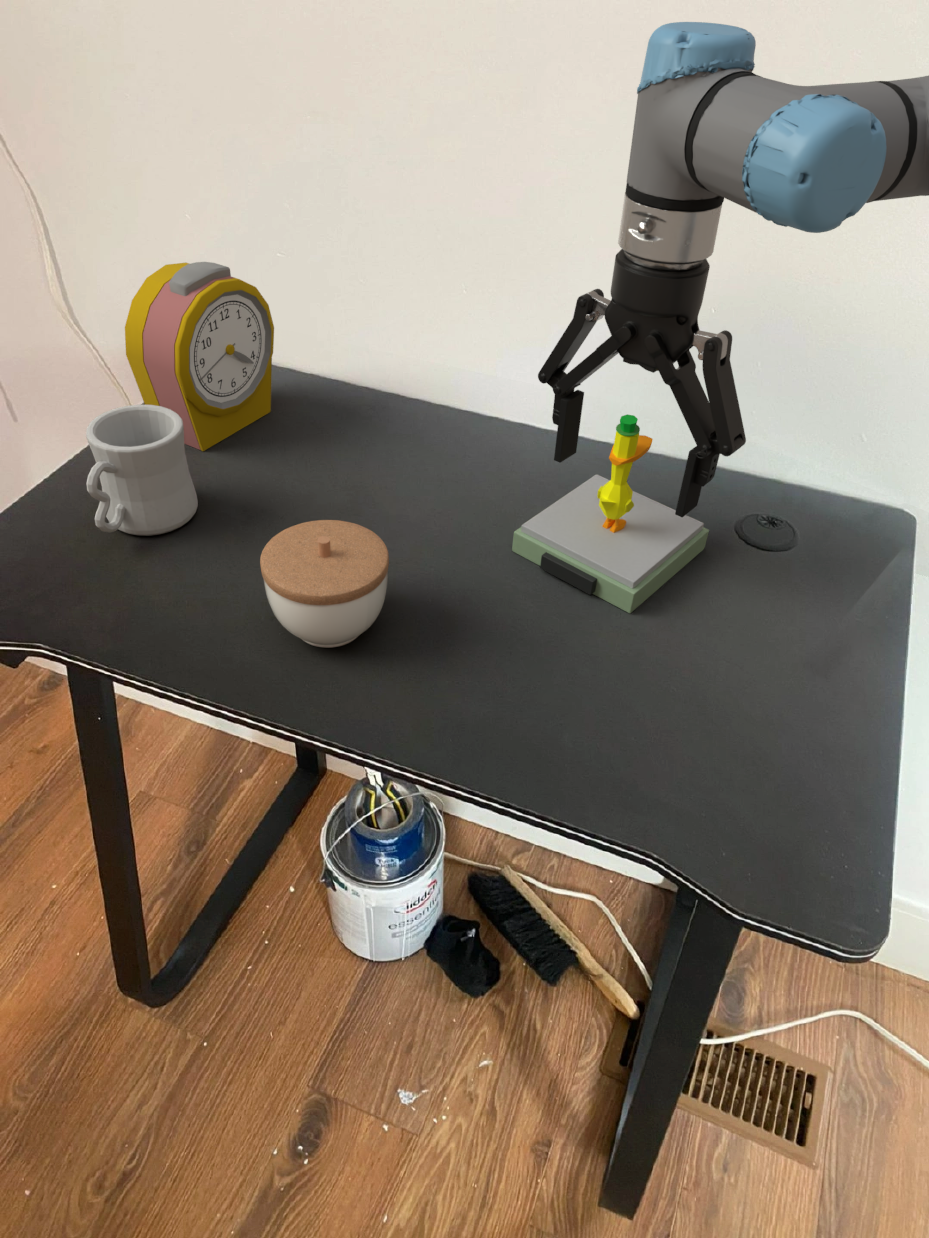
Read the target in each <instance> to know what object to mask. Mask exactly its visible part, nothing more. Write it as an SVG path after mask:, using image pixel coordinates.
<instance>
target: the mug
mask: <svg viewBox="0 0 929 1238" xmlns="http://www.w3.org/2000/svg"><path fill="white" fill-rule="evenodd" d="M85 437H86V440H87V443H88V446H89V448H90V450H91V453H92V455H93V458H94V460H95V464H94V465H93V466H92V467H91V468H90V471H89V473H88V474H87V479H86V491H87V492H88V495H90V497H91V498H93V499H94V500H97V501H99V503H98V507H97V508H96V512H95V516H94V524H95V526H96V527H97V528H98V529H99V530H100V531H101V532H104V533H113V532H117V531H118V530H119V531H120V532H123V533H125V534H127V535H133V536H143V537H145V536H147V537H148V536H149V537H150V536H157V535H163V534H167V533H169V532H173V531H175V530H177V529H179V528H182V527H183V526H184V525H186V524H187V523H189V521H190V520H191V519H192V518H193V517H194V516H195V514H196V512H197V509H198V506H199V504H198V503H199V500H198V495H197V492H196V488H195V486H194V482H193V478H192V476H191V473H190V470H189V465H188V464H189V463H188V461H187V460H188V459H187V455H186V450H185V449H186V448H185V444H184V427H183V421H182V419H181V418H180V416H179V415H178V414H177V413H175V412H174V411H172V410H170V409H168V408H165V407H162V406H155V405H145V404H130V405H129V404H128V405H124V406H120V407H115V408H113V409H109V410H107V411H104V412H103V413H101V414H98V415H97V416H96V417H94V418H93V419H92V420H91V421H90V422H89V424H88V425H87V427H86V429H85ZM99 481H100V485H101V490H100V489H98V488H99V487H98V483H99ZM106 519H107V521H108V522H106Z"/></svg>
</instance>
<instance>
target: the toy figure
mask: <svg viewBox="0 0 929 1238" xmlns="http://www.w3.org/2000/svg"><path fill="white" fill-rule="evenodd" d="M638 420H639V419H638V418H637V417H636V416H635V415H634V414H633V415H632V414H624V415H621V416H620V419H619V423H618V424H617V425H616V427H615V436H614V441H613V445H612V447H611V450H610V453H609V455H608V460H609V461H610V463H611V469H610V470H611V471H610V472H611V473H610V476H611V477H610V479H609V480H610V481H609V482H607V483H606V484H605V485H604V486H601V487H600V488H599V490H598V493H597V498H598V499H600V501H599V506H600V508H601V510H602V511H603V513H604V515H605V516H606V517H607V518H606V521H605V522H604V524H603V526H602V527H604V528H606V529H607V528H609V527H611V526H612V527H611V528H610V531H611V532H613V533H615V532H617V531H619V530H622V529H623V528H624V527H625V525H626V520H624V519H619V518H621V517H622V516H623V515H624V514H626V513H627V512H629V511H630V510H631V509H632V508H633V507H634V503H633V502H632V500H631V499H632V494H633V491H634V490H633V489H632V488H631V486H630V485H629V483H628V479H629V476H630V474H631V470H632V466H633V464H634V463H635V462H636V461H637V460H639V459H641V458H642V457H643V456H644V455H646V454H647V453H649V450H650V449H651V447H652V443H653V441H654V439H653V438H652V437H649V436H648V435H644V434H643V435H642V434H640V431H641V427H640V426H639V425H638Z"/></svg>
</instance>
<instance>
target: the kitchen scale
mask: <svg viewBox="0 0 929 1238" xmlns="http://www.w3.org/2000/svg"><path fill="white" fill-rule="evenodd" d="M610 480H611V479H608V478H607V477H603V476H601V475H600V474H595V475H593V476H592V477H590V478H588V479H587V480H586V481H585V482H582V483H581V484H580V485H578V486H577V487H576V488H574V489H572V490H571V491H570V492H568V493H567V494H565V495H564V496H562V497H560V498H559V499H557V500H556V501H554V502H553V503H552V504H550V505H549V506H548V507H546V508H544V509H543V510H541V511H539V513H537V514H536V515H534V516H533V517H531V518H530V519H529V520H527V521H526V522H524V523H522V524H521V526H520V527H519V528H517V529H516V530H515V531H514V532H513V536H512V537H513V538H512V548H511V552H512V553H515V554H517V555H518V556H520V557H522V558H525V559H526V560H527V561H530V562H532V563H534V564H535V565H537V566H539V568H540V570H542V571H545V572H547V573H549V574H550V575H552V576H554V577H556V578H558V579H560V580H561V581H563V582H565V583H567V584H569V585H571V586H572V587H574V588H577V589H579V590H580V591H582V592H584V593H586V594H588V595H590V596H592V595H594V596H596V597H597V598H599V599H601V600H604V601H606V602H607V603H609V604H611V605H613V606H615V607H617V608H619V609H620V610H622V611H624V612H626V613H628V614H632V613H633V612H634V611H635V610H636V609H638V607H640V606H641V605H642V604H643V603H644V602H645V601H646V600H648V599H649V598H650V597H651V596H652V595H654V593H656V592H657V591H658V590H659V589H660V588H661V587H662V586H664V585H665V584H666V583H667V582H668V581H669V580H671V579H672V578H673V577H674V576H675V575H676V574H677V573H679V572H680V571H681V570H682V569H683V568H684V567H685V566H687V565H688V564H689V563H690V562H691V561H692V560H693V559H694V558H695V557H697V556H698V555H699V554H701V552H703V551H704V550H705V547H706V545H707V541H708V537H709V533H710V529H708V528H706V527H704V526H705V522H702V521H700V520H698V519H696V518H694V517H691V516H689V515H687V514H686V515H685V516H684V517H680V516H678V515H675V512H676V509H674V508H671V507H670V506H667V505H665V504H663V503H661V502H658V501H657V500H655V499H652V498H649V497H647V496H645V495H643V494H641V493H639V492H636V491H634V490H632V491H633V494H632V499H631V500H632V502H633V503H634V507H633V508H632V509H631V510H630V511H629V512H627V513H626V514H624V515H623V516H622V517H621V518H619V519H624V520H626V525H625V527H624V528H623V529H622V530H619V531H617V532H615V533H613V532H611V531H610V528H611V527H612V526H611V527H609V528H607V529H606V528H604V527H602V526H603V524H604V522H605V521H606V518H607V517H606V516H605V515H604V513H603V511H602V510H601V508H600V506H599V501H600V499H598V498H597V493H598V490H599V488H600V487H601V486H604V485H605V484H606V483H607V482H609V481H610Z"/></svg>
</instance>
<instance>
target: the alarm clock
mask: <svg viewBox="0 0 929 1238" xmlns="http://www.w3.org/2000/svg"><path fill="white" fill-rule="evenodd" d="M269 305H270V304H269V303H268V302H267V301H266V299H265V297H264V296H263V295H262V294H261V292H260V290H258V288H257V287H256V286H255V285H253V284H251V283H248V282H246V281H244V280H242V279H240V278H237V277H234V276H232V274H231V268H230V267H229V266H226V265H223V264H219V263H216V262H212V261H211V262H210V261H196V262H191V263H189V262H179V263H169V264H165V265H163V266H161V267H160V268H158V269H157V270H156V271H155V272H153V273H151V274H150V275H148V276H147V277H146V278H145V279H144V281H143V283H142V284H141V286H140V287H139V289H138V290H137V292H136V293H135V295H134V296H133V298H132V299H131V303H130V306H129V309H128V314H127V317H126V320H125V321H126V322H125V325H124V339H125V357H126V359H127V361H128V364H129V366H130V369H131V372H132V375H133V377H134V380H135V383H136V385H137V388H138V390H139V393H140V396H141V398H142V400H143V403H144V404H143V405H155V406H162V407H165V408H168V409H170V410H172V411H174V412H175V413H177V414H178V415H179V416H180V418H181V419H182V421H183V427H184V445H186V446H189V447H192V448H194V449H195V450H196V449H197V450H199V451H201V452H205V451H206V450H208V449H210V448H211V447H213V446H215V445H216V444H218V443H220V442H222V441H223V440H225V439H227V438H228V437H230V436H232V435H234V434H236V433H238V432H239V431H240V430H242V429H244V428H246V427H247V426H249V425H251V424H253V423H254V422H256V421H257V420H259V419H261V418H263V417H264V416H266V415H268V414H270V413H271V412H272V375H273V374H272V371H273V369H272V368H273V367H272V366H273V365H272V364H273V354H274V346H275V345H274V340H275V325H274V322H273V317H272V313H271V309H270V306H269Z"/></svg>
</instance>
